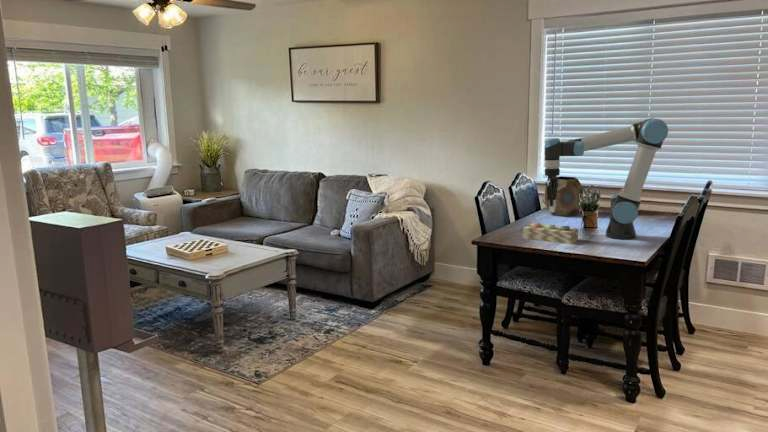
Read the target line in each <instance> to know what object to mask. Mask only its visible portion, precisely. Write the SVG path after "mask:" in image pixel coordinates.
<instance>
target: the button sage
mask: <svg viewBox="0 0 768 432" xmlns="http://www.w3.org/2000/svg"><path fill="white" fill-rule="evenodd" d="M545 225H546V229H553V230H554V229H555V226H556V224H550V223H549V224H545Z"/></svg>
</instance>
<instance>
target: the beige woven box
mask: <svg viewBox="0 0 768 432" xmlns="http://www.w3.org/2000/svg"><path fill="white" fill-rule="evenodd" d="M546 225H547V224H541V227H540V228H534V227H532V223H530V224H528V225H526V226H524V227H522V239H525V240H534V241H543V242H549V243H559V244H567V245H571V244H573V243H574V242H577V241H578V239H579V228H578V227H577V228H574V227H570V231H562V230H561V226H557V225H555V229H554V230H553V229H546Z"/></svg>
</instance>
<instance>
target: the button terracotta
mask: <svg viewBox="0 0 768 432" xmlns="http://www.w3.org/2000/svg"><path fill="white" fill-rule="evenodd" d="M531 224H532V227H534V228H540V227H541V225H542V223H539V222H532V223H531Z"/></svg>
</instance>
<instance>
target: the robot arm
mask: <svg viewBox="0 0 768 432" xmlns="http://www.w3.org/2000/svg"><path fill="white" fill-rule="evenodd" d="M668 134H669V128H668V124H667V123H666V122H665V121H664V120H663V119H659V118H653V117H652V118H647V119H645V120H642V121H639V122H636V123H632V124H631V125H630V126H626V127H622V128H618V129H614V130H610V131H606V132H601V133H596V134H593V135H588V136H587V135H586V136H584V137H580V138H576V139H568V140H567V141H561V140H560V139H561V138H555V137H554V138H552V137H551V138H547V139H545V140H544V162H543V163H544V175H545V176H546V177H547V180H546V181H547V182H545V187H546V189H547V200H549V210H548V212H549V213H550V212H555V200H557V189H558V181H559V180H557V177H559V176H560V174H561V173H560V171H561V170H560V167H561V164H560V162H561V161H560V157H581V156H583V155H584V152H588V151H592V150H596V149H601V148H602V149H603V148H607V147H610V146H616V145H620V144H625V143H630V142H635V143H636V145H637V149H636V152H635V155H634V157H633V159H632V160H633V161H632V162H631V166H630V168H629V172H628V174H627V177H626V179H625V183H624V185H623V190H622V192H621V193H619V192H618V193H617V194H616V193H615V194H612V195H611V196H610V200H609V201H610V208H609V212H610V213H609V221H608V225H607V228H606V230H605V237H608V238H610V239H616V240H632V239H633V240H634V239H636V237H637V235H636V234H637V232H636V229H635V226H634V221H636V219H637V218H638V215H639V208H640V205H641V202H642V199H641V198H640V196H641V194H642V191H643V188H644V185H645V183H646V181H647V177H648V175H649V172H650V170H651V166H652V164H653V161H654V159H655V155H656V152H657V151H659V150H661V149H662V146H663V143H664V142H665V140H666V138H667V137H668Z"/></svg>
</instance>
